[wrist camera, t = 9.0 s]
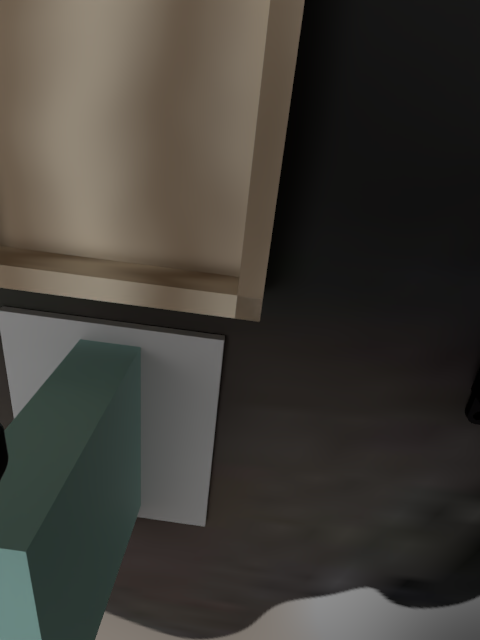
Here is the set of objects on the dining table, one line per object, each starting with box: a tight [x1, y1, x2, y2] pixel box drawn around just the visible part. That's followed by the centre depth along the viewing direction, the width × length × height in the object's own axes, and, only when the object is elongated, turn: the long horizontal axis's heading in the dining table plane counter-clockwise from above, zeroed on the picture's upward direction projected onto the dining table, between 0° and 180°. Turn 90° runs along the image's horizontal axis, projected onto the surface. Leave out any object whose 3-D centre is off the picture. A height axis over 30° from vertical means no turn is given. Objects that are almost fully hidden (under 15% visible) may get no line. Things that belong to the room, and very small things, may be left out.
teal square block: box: [0, 339, 141, 640], centre depth 19 cm, size 3×11×11 cm, turn 174°
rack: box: [0, 0, 305, 322], centre depth 16 cm, size 20×16×3 cm
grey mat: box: [0, 306, 225, 527], centre depth 25 cm, size 11×13×1 cm
